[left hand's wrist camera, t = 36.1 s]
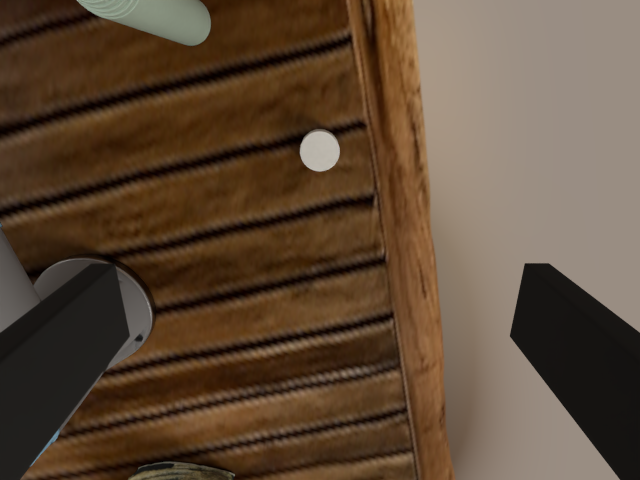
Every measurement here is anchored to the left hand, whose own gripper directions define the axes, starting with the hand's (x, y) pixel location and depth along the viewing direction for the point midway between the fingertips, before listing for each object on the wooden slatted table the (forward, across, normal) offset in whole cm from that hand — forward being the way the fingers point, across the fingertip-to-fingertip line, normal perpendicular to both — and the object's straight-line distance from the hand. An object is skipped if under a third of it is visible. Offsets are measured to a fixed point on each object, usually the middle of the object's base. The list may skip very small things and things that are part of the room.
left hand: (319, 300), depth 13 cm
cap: (+33, 0, 0) cm, 33 cm away
